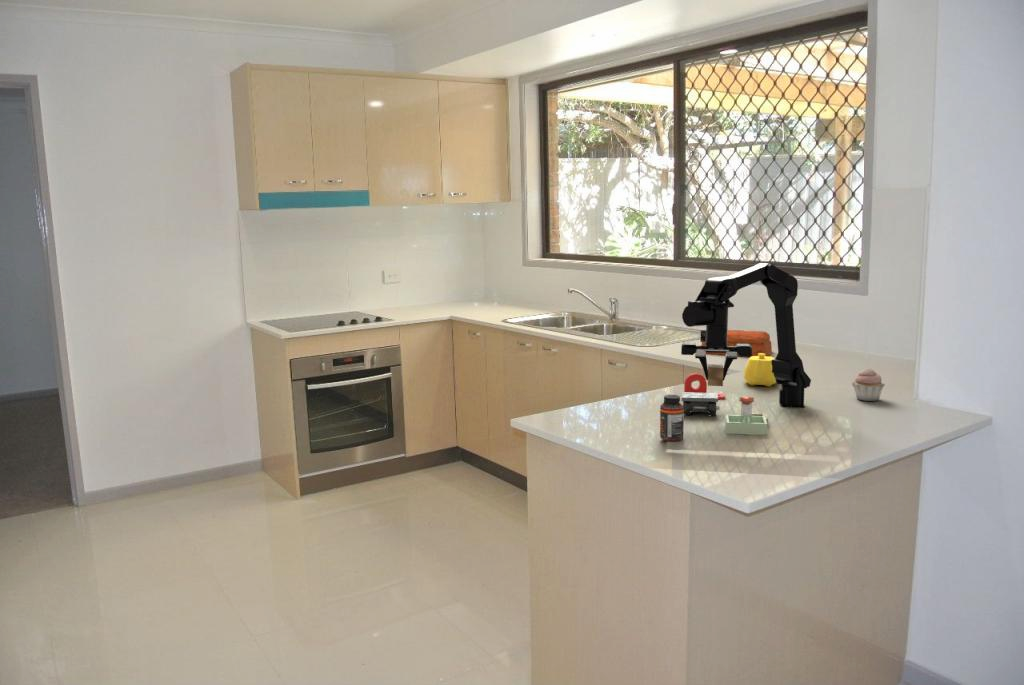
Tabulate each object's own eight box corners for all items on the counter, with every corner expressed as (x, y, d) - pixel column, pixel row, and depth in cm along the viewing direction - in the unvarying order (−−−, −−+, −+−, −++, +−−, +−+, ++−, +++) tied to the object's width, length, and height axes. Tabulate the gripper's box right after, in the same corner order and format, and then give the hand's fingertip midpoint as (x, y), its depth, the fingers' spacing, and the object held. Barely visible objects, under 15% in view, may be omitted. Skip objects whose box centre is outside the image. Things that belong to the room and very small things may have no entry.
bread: (765, 362, 311) (766, 335, 310) (697, 357, 325) (697, 331, 323) (774, 355, 325) (775, 329, 323) (709, 351, 338) (709, 326, 336)
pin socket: (766, 420, 224) (766, 413, 224) (767, 426, 219) (768, 418, 218) (743, 419, 226) (743, 412, 225) (744, 425, 220) (744, 418, 220)
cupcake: (870, 394, 253) (871, 363, 251) (891, 401, 244) (892, 368, 242) (844, 396, 250) (845, 365, 249) (864, 403, 242) (865, 370, 240)
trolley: (718, 411, 236) (719, 393, 236) (719, 417, 229) (719, 399, 228) (680, 410, 239) (680, 392, 238) (679, 416, 231) (679, 397, 231)
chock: (722, 382, 227) (722, 364, 226) (722, 386, 221) (723, 368, 220) (707, 381, 227) (708, 363, 227) (707, 385, 222) (708, 367, 221)
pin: (752, 426, 216) (753, 396, 215) (753, 430, 213) (754, 399, 212) (738, 426, 217) (739, 396, 216) (739, 429, 214) (740, 399, 212)
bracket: (687, 401, 250) (688, 376, 249) (684, 398, 254) (684, 373, 253) (726, 400, 250) (726, 375, 249) (721, 397, 255) (722, 372, 254)
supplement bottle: (657, 436, 212) (657, 393, 210) (679, 435, 212) (680, 392, 210) (663, 442, 206) (663, 399, 204) (686, 441, 206) (686, 398, 204)
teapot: (776, 392, 259) (776, 359, 258) (740, 390, 263) (741, 357, 262) (780, 381, 276) (780, 350, 274) (746, 379, 280) (747, 349, 278)
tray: (764, 426, 218) (764, 416, 218) (767, 434, 210) (767, 423, 210) (725, 425, 220) (725, 414, 220) (726, 433, 212) (726, 422, 212)
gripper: (750, 321, 227) (748, 376, 230) (682, 320, 232) (681, 373, 234) (753, 326, 217) (750, 383, 219) (681, 324, 221) (680, 381, 223)
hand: (715, 380), depth 224 cm, fingers closed on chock, 4 cm apart
